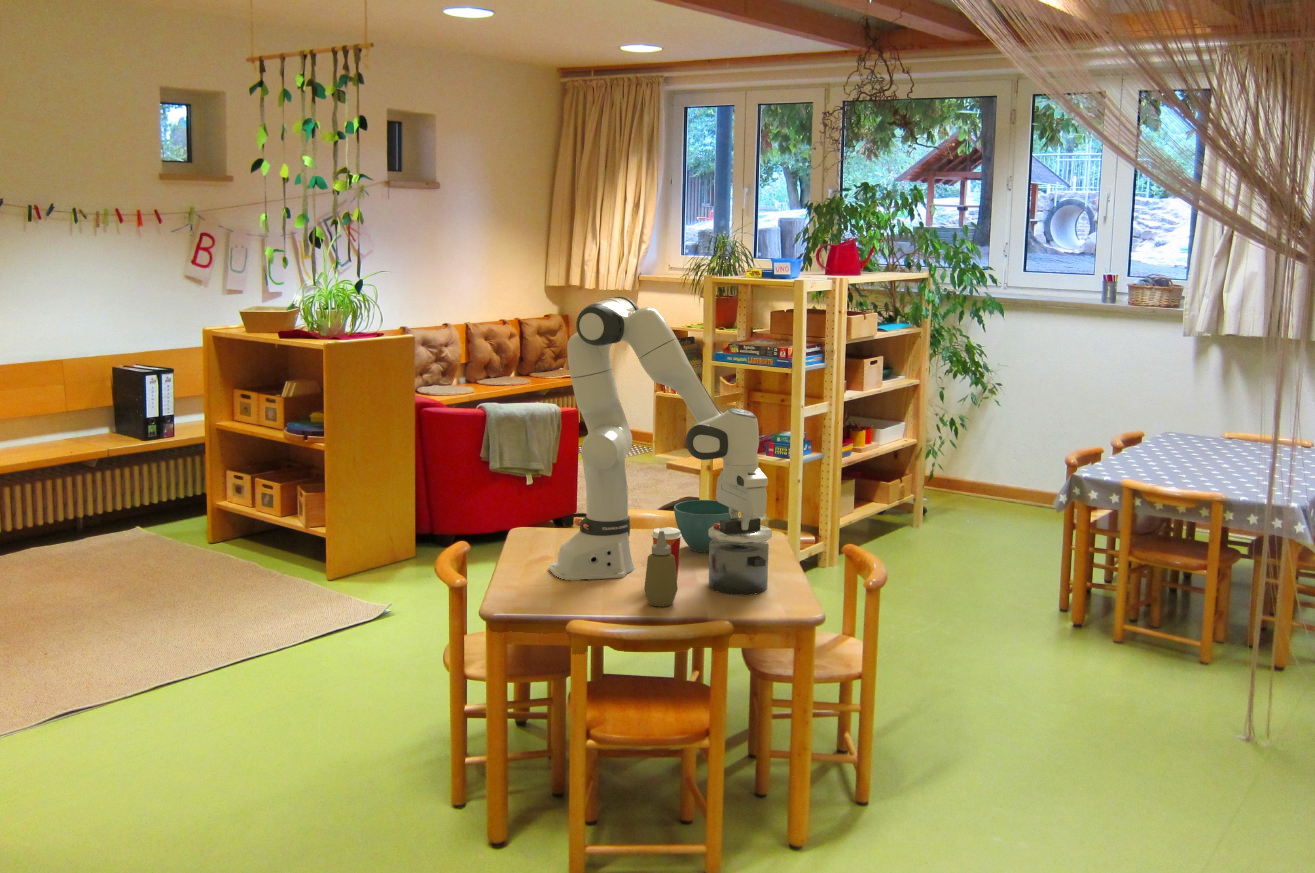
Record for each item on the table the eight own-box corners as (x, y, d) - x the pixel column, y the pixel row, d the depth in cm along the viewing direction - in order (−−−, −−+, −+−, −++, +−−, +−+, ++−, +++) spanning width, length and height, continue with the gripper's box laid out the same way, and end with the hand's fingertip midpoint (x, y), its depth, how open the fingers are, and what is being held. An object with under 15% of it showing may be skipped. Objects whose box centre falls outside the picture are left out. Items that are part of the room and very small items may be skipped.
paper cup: (646, 580, 299) (646, 528, 297) (673, 577, 302) (674, 525, 300) (658, 589, 292) (659, 535, 290) (686, 586, 295) (687, 532, 293)
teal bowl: (660, 547, 330) (660, 505, 328) (705, 536, 342) (706, 496, 340) (705, 561, 317) (705, 518, 315) (750, 549, 329) (751, 507, 327)
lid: (726, 546, 283) (727, 529, 282) (697, 531, 297) (697, 515, 296) (783, 539, 289) (783, 523, 289) (752, 524, 304) (752, 509, 303)
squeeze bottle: (652, 610, 276) (652, 537, 273) (638, 600, 283) (639, 529, 280) (682, 606, 279) (683, 534, 276) (669, 596, 287) (670, 526, 283)
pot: (732, 602, 283) (733, 558, 281) (692, 577, 302) (693, 536, 300) (785, 594, 289) (786, 552, 287) (743, 570, 309) (744, 530, 307)
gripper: (710, 467, 298) (709, 519, 301) (749, 482, 280) (748, 538, 283) (732, 465, 301) (731, 516, 303) (771, 480, 283) (770, 535, 285)
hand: (739, 527), depth 293 cm, fingers closed on lid, 3 cm apart
